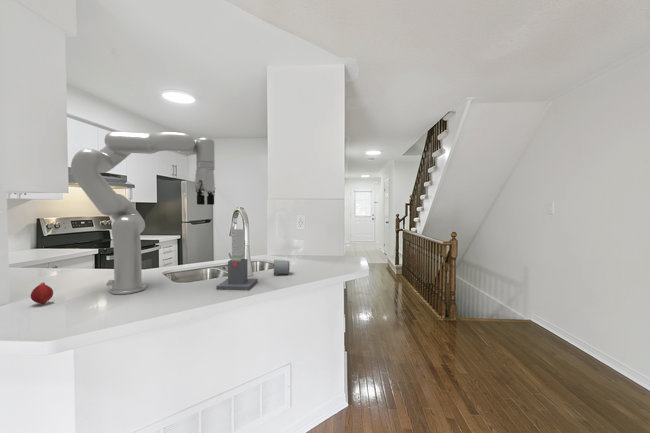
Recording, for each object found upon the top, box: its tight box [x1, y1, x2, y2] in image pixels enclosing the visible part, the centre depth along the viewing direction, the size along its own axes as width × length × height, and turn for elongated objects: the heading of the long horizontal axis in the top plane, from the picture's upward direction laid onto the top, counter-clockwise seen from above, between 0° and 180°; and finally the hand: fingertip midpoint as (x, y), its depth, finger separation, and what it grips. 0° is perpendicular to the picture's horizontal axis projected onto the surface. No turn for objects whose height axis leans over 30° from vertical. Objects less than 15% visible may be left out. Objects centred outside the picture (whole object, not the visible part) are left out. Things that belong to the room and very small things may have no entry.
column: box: [231, 228, 245, 261], centre depth 133 cm, size 4×4×18 cm
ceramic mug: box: [273, 259, 290, 276], centre depth 157 cm, size 11×8×8 cm
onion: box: [30, 281, 54, 305], centre depth 106 cm, size 6×6×8 cm
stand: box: [215, 258, 259, 291], centre depth 133 cm, size 14×14×12 cm
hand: (205, 204), depth 134 cm, fingers open, 9 cm apart
